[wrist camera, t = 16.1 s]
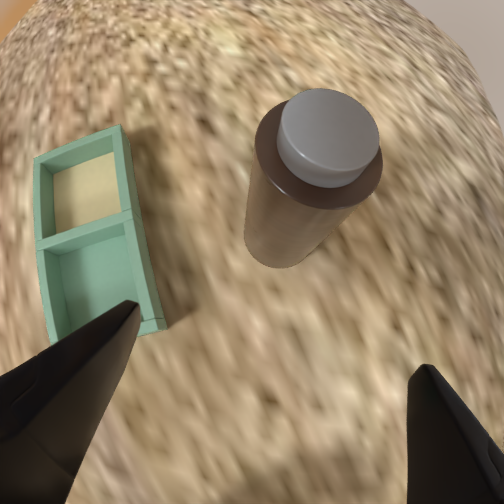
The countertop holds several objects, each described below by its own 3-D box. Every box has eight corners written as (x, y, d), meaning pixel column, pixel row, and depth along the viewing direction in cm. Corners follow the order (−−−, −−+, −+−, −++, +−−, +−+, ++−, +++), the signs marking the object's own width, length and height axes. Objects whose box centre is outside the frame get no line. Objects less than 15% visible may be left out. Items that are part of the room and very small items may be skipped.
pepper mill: (247, 272, 23) (269, 198, 9) (240, 204, 24) (249, 73, 10) (317, 264, 23) (416, 191, 10) (306, 199, 24) (375, 77, 11)
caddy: (168, 329, 22) (158, 330, 19) (71, 351, 21) (52, 354, 18) (129, 141, 25) (120, 123, 22) (48, 172, 24) (33, 158, 21)
